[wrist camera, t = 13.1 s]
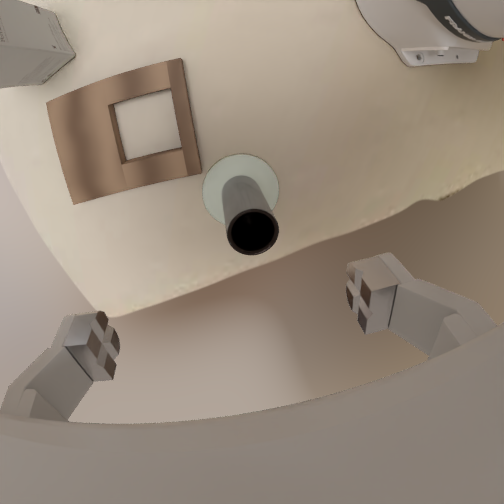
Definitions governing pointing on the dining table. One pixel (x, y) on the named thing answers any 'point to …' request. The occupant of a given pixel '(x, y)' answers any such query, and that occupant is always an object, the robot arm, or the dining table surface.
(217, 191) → the saucer
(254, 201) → the grey cylinder
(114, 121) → the pocket board
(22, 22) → the skincare box
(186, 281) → the dining table surface
